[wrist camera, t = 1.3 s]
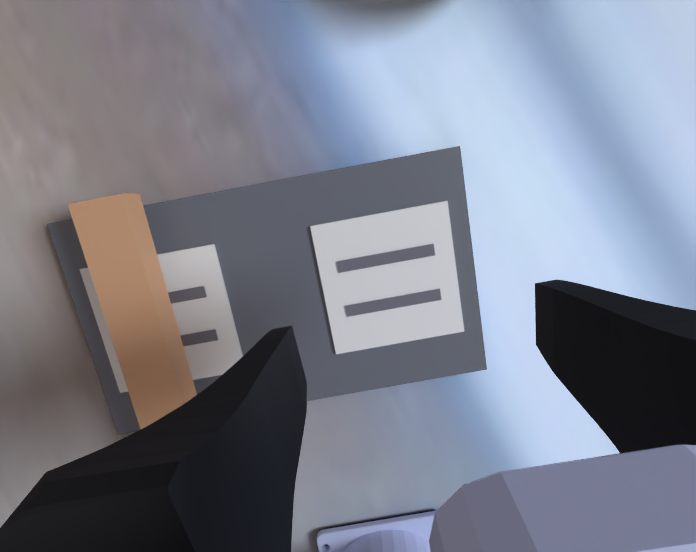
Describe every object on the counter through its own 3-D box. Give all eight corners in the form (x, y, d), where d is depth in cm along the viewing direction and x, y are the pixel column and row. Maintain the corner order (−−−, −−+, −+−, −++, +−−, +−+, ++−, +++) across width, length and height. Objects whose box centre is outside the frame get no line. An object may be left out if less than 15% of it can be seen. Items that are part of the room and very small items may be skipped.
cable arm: (231, 489, 22) (224, 511, 20) (174, 499, 22) (162, 521, 21) (148, 191, 19) (131, 191, 17) (80, 204, 19) (58, 205, 17)
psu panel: (481, 363, 23) (488, 371, 22) (125, 426, 24) (114, 437, 22) (455, 147, 21) (461, 145, 20) (57, 222, 21) (42, 224, 20)
